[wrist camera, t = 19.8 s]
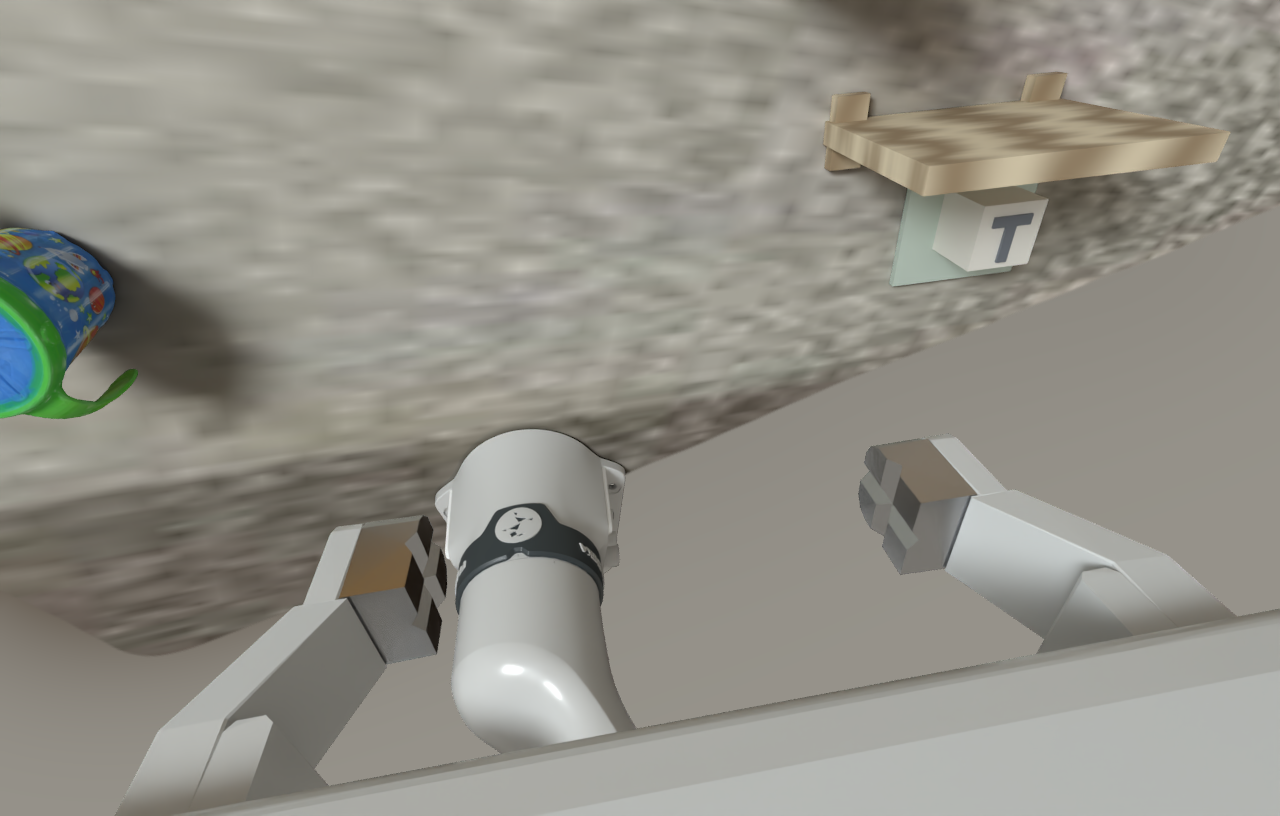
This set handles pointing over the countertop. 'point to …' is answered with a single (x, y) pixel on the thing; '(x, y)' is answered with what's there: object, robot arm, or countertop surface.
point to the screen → (1009, 141)
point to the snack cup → (49, 322)
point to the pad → (927, 244)
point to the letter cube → (989, 227)
